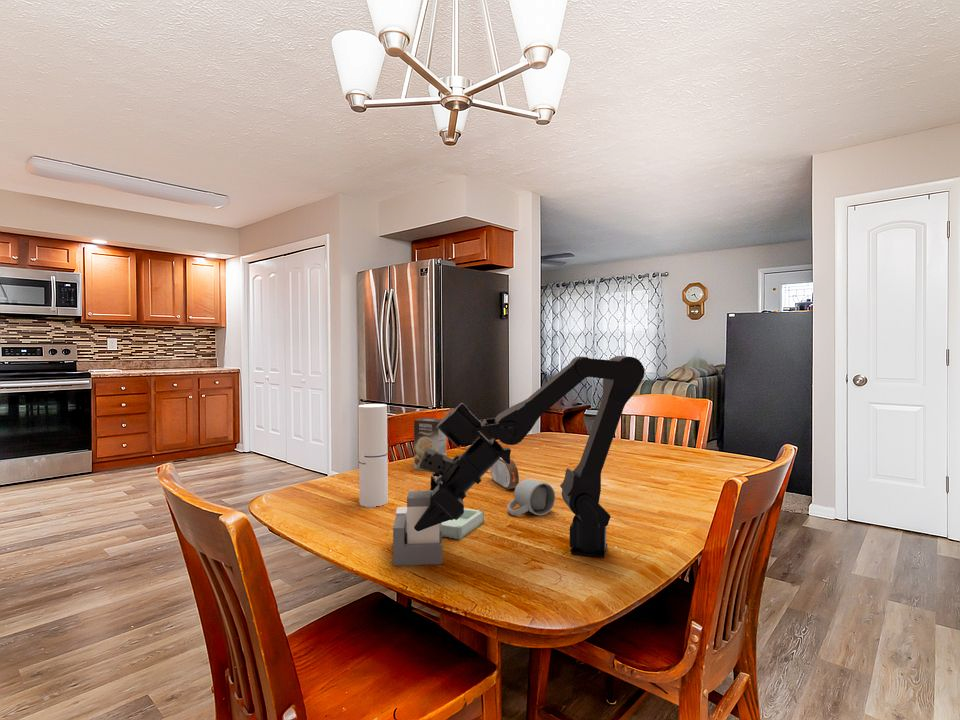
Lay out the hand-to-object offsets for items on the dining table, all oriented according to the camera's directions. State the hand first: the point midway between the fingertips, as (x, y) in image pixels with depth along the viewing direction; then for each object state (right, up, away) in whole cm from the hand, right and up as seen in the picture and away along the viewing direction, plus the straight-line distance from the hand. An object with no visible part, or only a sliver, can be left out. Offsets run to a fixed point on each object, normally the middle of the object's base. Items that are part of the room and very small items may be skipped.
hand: (416, 521), depth 102 cm
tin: (+19, -5, +50) cm, 54 cm away
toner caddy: (+1, -7, 0) cm, 7 cm away
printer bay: (0, -7, +2) cm, 7 cm away
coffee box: (-4, -4, +70) cm, 70 cm away
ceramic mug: (+24, -6, +26) cm, 36 cm away
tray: (+5, -6, +17) cm, 18 cm away
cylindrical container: (-15, -6, +34) cm, 37 cm away
